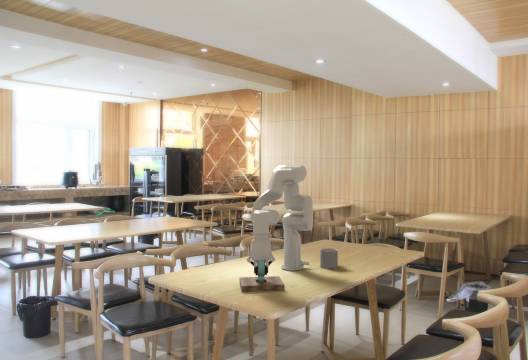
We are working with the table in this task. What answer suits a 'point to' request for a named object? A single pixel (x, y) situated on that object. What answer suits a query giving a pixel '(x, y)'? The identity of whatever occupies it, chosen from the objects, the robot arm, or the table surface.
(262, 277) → the teal peg
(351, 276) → the table surface
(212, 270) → the table surface
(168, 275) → the table surface
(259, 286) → the walnut board
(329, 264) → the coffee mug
